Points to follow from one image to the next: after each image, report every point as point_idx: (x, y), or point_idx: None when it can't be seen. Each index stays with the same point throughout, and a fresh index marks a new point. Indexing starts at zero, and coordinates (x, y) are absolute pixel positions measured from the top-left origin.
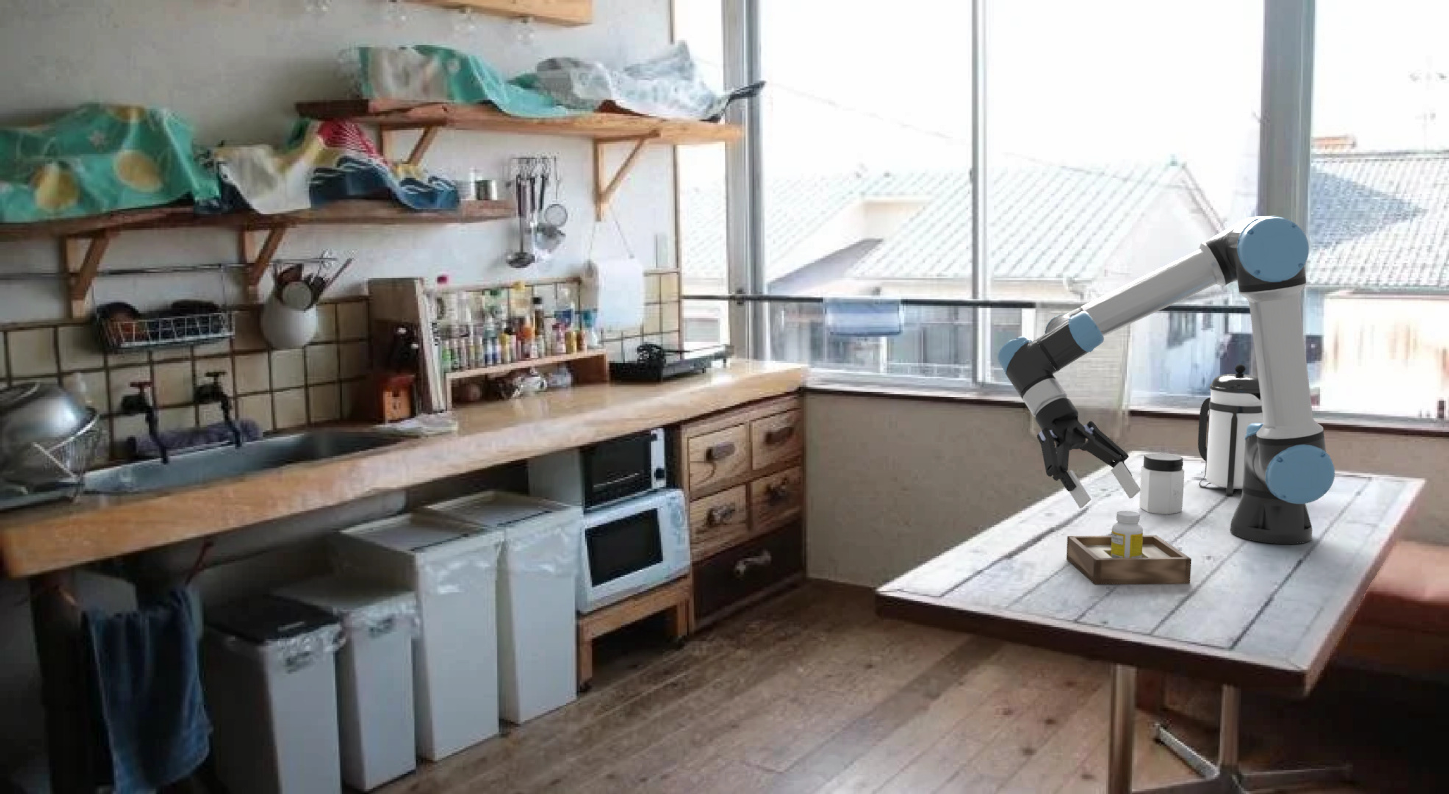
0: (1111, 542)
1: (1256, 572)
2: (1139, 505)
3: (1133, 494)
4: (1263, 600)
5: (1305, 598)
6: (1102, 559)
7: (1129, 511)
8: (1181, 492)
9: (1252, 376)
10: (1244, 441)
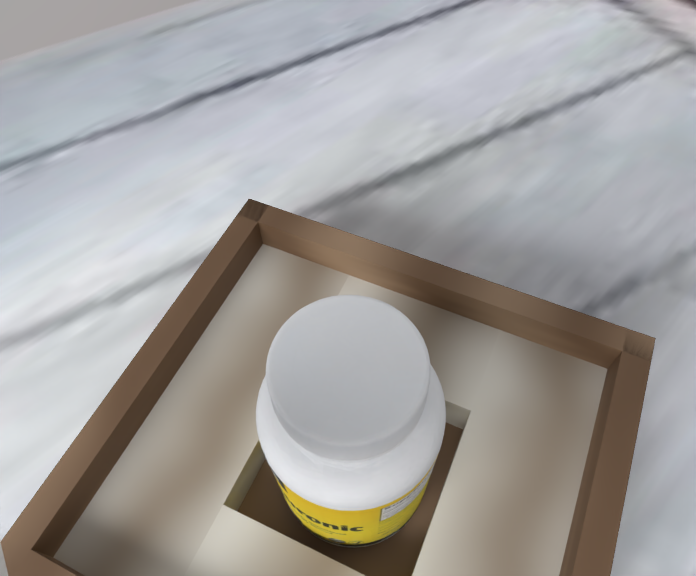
0: (420, 492)
1: None
2: None
3: (4, 563)
4: (219, 99)
5: (111, 76)
6: (620, 329)
7: (294, 399)
8: None
9: None
10: None
